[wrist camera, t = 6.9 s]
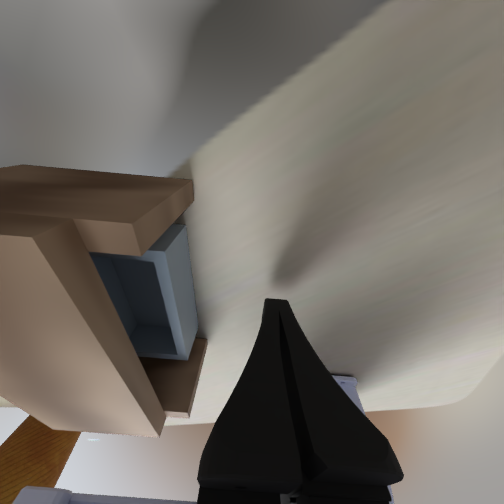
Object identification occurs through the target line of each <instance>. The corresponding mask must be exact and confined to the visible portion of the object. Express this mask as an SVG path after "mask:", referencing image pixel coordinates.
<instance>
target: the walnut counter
mask: <svg viewBox="0 0 504 504" xmlns="http://www.w3.org/2000/svg"><path fill="white" fill-rule="evenodd" d="M193 201H194V194H193V183H192V180H186V179H175V178H164V177H153V176H142V175H131V174H119V173H109V172H98V171H87V170H76V169H65V168H54V167H43V166H32V165H18V166H10V167H3V168H0V396H2V397H3V398H5V399H6V400H8V401H9V402H11V403H13V404H14V405H16V406H17V407H19V408H20V409H22V410H23V411H25V412H27V413H28V414H30V415H31V416H33V417H34V418H36V419H37V420H39V421H41V422H42V423H44V424H45V425H47V426H48V427H50V428H51V429H54V430H67V431H80V432H94V433H106V434H121V435H133V436H146V437H160V435H161V432H162V429H163V426H164V423H165V420H166V417H177V418H189V417H190V413H191V409H192V405H193V401H194V397H195V393H196V389H197V385H198V381H199V377H200V373H201V369H202V365H203V361H204V357H205V353H206V349H207V339H201V338H195V339H194V342H193V345H192V348H191V351H190V355H189V358H188V360H176V359H163V358H151V357H139V356H137V354H136V352H135V349H134V347H133V345H132V343H131V341H130V339H129V337H128V335H127V333H126V330H125V328H124V326H123V324H122V322H121V320H120V318H119V316H118V314H117V311H116V309H115V307H114V305H113V303H112V301H111V299H110V297H109V295H108V292H107V290H106V288H105V286H104V284H103V282H102V280H101V278H100V276H99V274H98V271H97V269H96V267H95V265H94V263H93V261H92V259H91V257H90V255H89V252H98V253H110V254H121V255H133V256H142V255H143V254H144V253H145V252H146V251H147V250H148V249H149V248H150V247H151V246H152V245H153V244H154V243H155V241H156V240H157V239H158V238H159V237H160V236H161V235H162V234H163V233H164V232H165V231H166V230H167V229H168V228H169V227H170V226H171V225H172V224H173V222H174V221H175V220H176V219H177V218H178V217H179V216H180V215H181V214H182V213H183V212H184V211H185V210H186V209H187V208H188V207H189V206H190V205H191V203H192V202H193Z"/></svg>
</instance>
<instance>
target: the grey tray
mask: <svg viewBox="0 0 504 504" xmlns="http://www.w3.org/2000/svg"><path fill="white" fill-rule="evenodd" d="M89 255H90V257H91V259H92V261H93V263H94V265H95V267H96V269H97V271H98V274H99V276H100V278H101V280H102V282H103V284H104V286H105V288H106V290H107V292H108V295H109V297H110V299H111V301H112V303H113V305H114V307H115V309H116V311H117V314H118V316H119V318H120V320H121V322H122V324H123V326H124V328H125V330H126V333H127V335H128V337H129V339H130V341H131V343H132V345H133V347H134V349H135V352H136V354H137V356H139V357H151V358H163V359H176V360H188V358H189V355H190V351H191V348H192V345H193V342H194V339H195V336H196V333H197V329H198V319H197V311H196V303H195V294H194V286H193V278H192V270H191V262H190V254H189V246H188V238H187V230H186V225H180V224H172V225H171V226H170V227H169V228H168V229H167V230H166V231H165V232H164V233H163V234H162V235H161V236H160V237H159V238H158V239H157V240H156V241H155V243H154V244H153V245H152V246H151V247H150V248H149V249H148V250H147V251H146V252H145V253H144V254H143V255H142V256H133V255H121V254H110V253H98V252H89Z"/></svg>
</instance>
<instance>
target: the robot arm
mask: <svg viewBox="0 0 504 504" xmlns="http://www.w3.org/2000/svg"><path fill="white" fill-rule="evenodd" d="M357 383H358V382H357V379H356V378H354V377H346V376H334V375H331V374H330V373H329V371H328V370H327V369H326V367H325V366H324V364H323V363H322V362H321V360H320V359H319V357H318V356H317V354H316V353H315V351H314V350H313V348H312V346H311V345H310V343H309V341H308V340H307V338H306V336H305V335H304V333H303V331H302V329H301V327H300V326H299V324H298V322H297V320H296V318H295V316H294V314H293V311H292V309H291V307H290V305H289V302H288V301H287V300H281V299H269V298H267V299H265V302H264V308H263V314H262V323H261V327H260V330H259V333H258V336H257V339H256V342H255V345H254V347H253V350H252V352H251V355H250V357H249V359H248V362H247V364H246V366H245V368H244V370H243V372H242V375H241V377H240V379H239V381H238V383H237V384H236V386H235V388H234V390H233V392H232V394H231V396H230V398H229V400H228V401H227V403H226V405H225V407H224V408H223V410H222V412H221V414H220V415H219V417H218V419H217V421H216V422H215V425H214V427H213V429H212V432H211V434H210V436H209V439H208V441H207V443H206V445H205V448H204V450H203V453H202V456H201V460H200V465H199V471H198V477H197V480H198V482H199V484H200V488H199V494H198V500H197V502H190V501H189V502H188V501H176V500H162V499H148V498H135V497H119V496H107V495H93V494H79V493H72V491H69V490H65V489H59V488H48V487H34V486H26V487H24V488H23V489H22V490H21V491H20V493H19V494H18V496H17V497H16V499H15V500H14V502H13V503H12V504H394V500H393V495H392V490H391V486H390V485H391V484H394V483H397V482H399V481H401V480H402V479H403V477H404V474H403V472H402V469H401V467H400V464H399V462H398V460H397V458H396V455H395V453H394V451H393V449H392V447H391V445H390V443H389V441H388V439H387V438H386V437H385V436H384V435H383V434H382V433H381V432H380V431H379V430H378V429H377V428H376V427H375V426H374V425H373V424H372V422H370V420H369V419H368V418H367V417H366V415H365V412H364V410H363V407H362V404H361V402H360V399H359V396H358V393H357V391H356V388H355V386H356V385H357Z"/></svg>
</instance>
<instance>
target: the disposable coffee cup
mask: <svg viewBox="0 0 504 504" xmlns="http://www.w3.org/2000/svg"><path fill="white" fill-rule="evenodd" d="M80 434H81V432H80V431H67V430H54V429H51V428H50V427H48V426H47V425H45V424H44V423H42V422H41V421H39V420H37V419H36V418H34V417H33V416H31V415H29V417H27V419H26V420H25V421H24V422H23V423H22V424H21V425H20V426H19V427H18V428H17V429H16V430H15V431H14V432H13V433H12V434H11V435H10V436H9V437H8V438H7V440H6V441H5V442H4V443H3V444H2V445H1V446H0V504H12V503H13V502H14V500H15V499H16V497H17V496H18V494H19V493H20V491H21V490H22V489H23V488H24V487H26V486H34V487H48V488H54V487H55V485H56V483H57V480H58V479H59V477H60V474H61V473H62V470H63V469H64V466H65V464H66V462H67V460H68V458H69V456H70V454H71V452H72V450H73V448H74V446H75V443H76V442H77V440H78V438H79V436H80Z"/></svg>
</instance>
